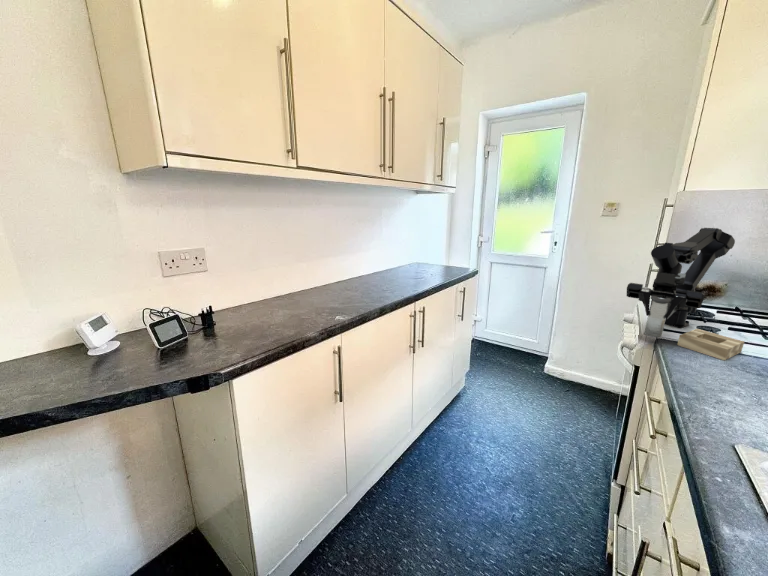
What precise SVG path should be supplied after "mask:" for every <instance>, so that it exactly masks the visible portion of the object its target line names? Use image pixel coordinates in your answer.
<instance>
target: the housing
mask: <svg viewBox="0 0 768 576" xmlns="http://www.w3.org/2000/svg"><path fill="white" fill-rule="evenodd" d="M676 345H677V346H679V347H682V348H684V349H687V350H691V351H694V352H696V353H697V352H698V353H701V354H703V355H706V356H710V357H712V358H713V357H714V358H716V359H718V360H722V361H726V360H729V359H731V358H732V357H734V356H736V355H739V354H740V353H742V350H743V348H744V345H745V341H743V340H739V339H736V338H733V337H729V336H725V335H722V334H718V333H714V332H711V331H707V330H703V329H699V328H695V329H692V330H690V331H687V332H684V333H682V334H679V337H678V341H677V344H676Z"/></svg>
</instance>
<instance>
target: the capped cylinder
mask: <svg viewBox="0 0 768 576" xmlns="http://www.w3.org/2000/svg"><path fill="white" fill-rule="evenodd" d="M671 301H672V298H671V297H669V296H664V295H651V296H650V306H649V314H648V316H647V319H646V323H645V327H644V332H643V333H644V335H646V336H649V337H652V338H661V337H662V335H663V333H664V332H663V331H664V328H665V325H666V324H665V320H666V315H667V312H668V308H669V304H670V302H671Z"/></svg>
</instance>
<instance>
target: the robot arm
mask: <svg viewBox="0 0 768 576" xmlns="http://www.w3.org/2000/svg"><path fill="white" fill-rule="evenodd" d="M735 242H736V239H735V238H734V237H733V235H732V234H729V233H727V232H725V231H723V230H722V229H720V228H718V227H716V228H715V227H701V228H700V229H699V230H698V232H697V233H695V234H694V235H692V236H691V237H689V238H688V239H686V240H685V241H683V242H681V241H680V242H676V243H673V242H664V243H663V244H662V245H661V244H660V245H658V246H656V247H654V248H653V249H651V252H650V255H651V257H652V260H653V262H654V264H655V266H656V268H658V270H657V272H656V277H655V279H653V283H652V289H651V288H650V287H644V284H642V283H637V282H635V283H634V282H629V283H628V284H627V286H626V297H627V298H631V299H632V298H633V299H638V301H640V302H642V304H643V307H644V311H645V316H647V317H648V314H649V309H650V305H651V295H664V296H669V297H671V298H672V301H671V302H670V304H669V308H668V312H667V315H666V320H665V324H664V325H669V326H671V327H674V328H678V329H682V328H686V327H688V326H690V323H688V322H686V321H687V318H688V314H689V313H690V314H691V313H696V312H697V309H701V308H702V305H703V301H704V299H705V298H704V297H705V293H703V292H701V291H696V288H697V287H698V285H699V284H700V283H701V280H702V279H703V278H704V277H705V275H706V273H707V272H708V270H709V269H710V268H711V266H712V265H713V264H714V262H715V261H716V259H718V258H720V257H724V256H726V255H727V254H728V252H729V251H730V250H732V249H733V247H734V246H735ZM699 251H700V252H699ZM682 264H686V265H689V268H687V270H686V272H685V273H681V272H682V270H683V265H682ZM690 264H691V265H690Z"/></svg>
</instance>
